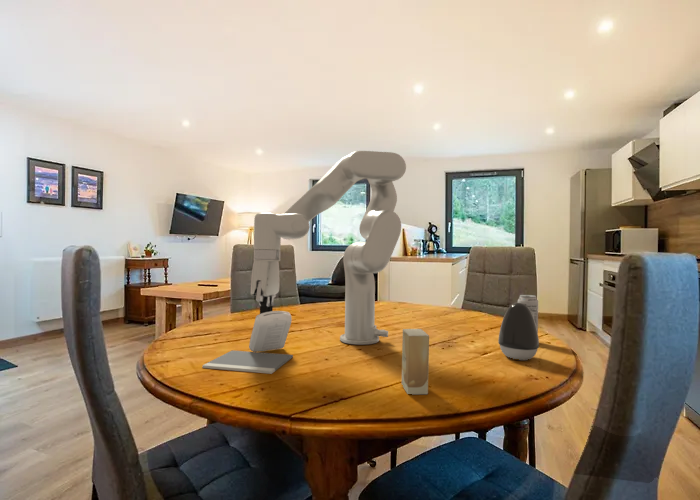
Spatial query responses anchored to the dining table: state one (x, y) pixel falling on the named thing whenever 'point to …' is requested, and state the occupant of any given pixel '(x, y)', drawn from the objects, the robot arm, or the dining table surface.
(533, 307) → the energy drink can
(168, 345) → the dining table surface
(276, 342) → the photo printer
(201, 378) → the dining table surface
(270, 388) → the dining table surface
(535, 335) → the grey egg shaped device
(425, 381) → the skincare box
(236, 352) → the mat
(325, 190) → the robot arm
